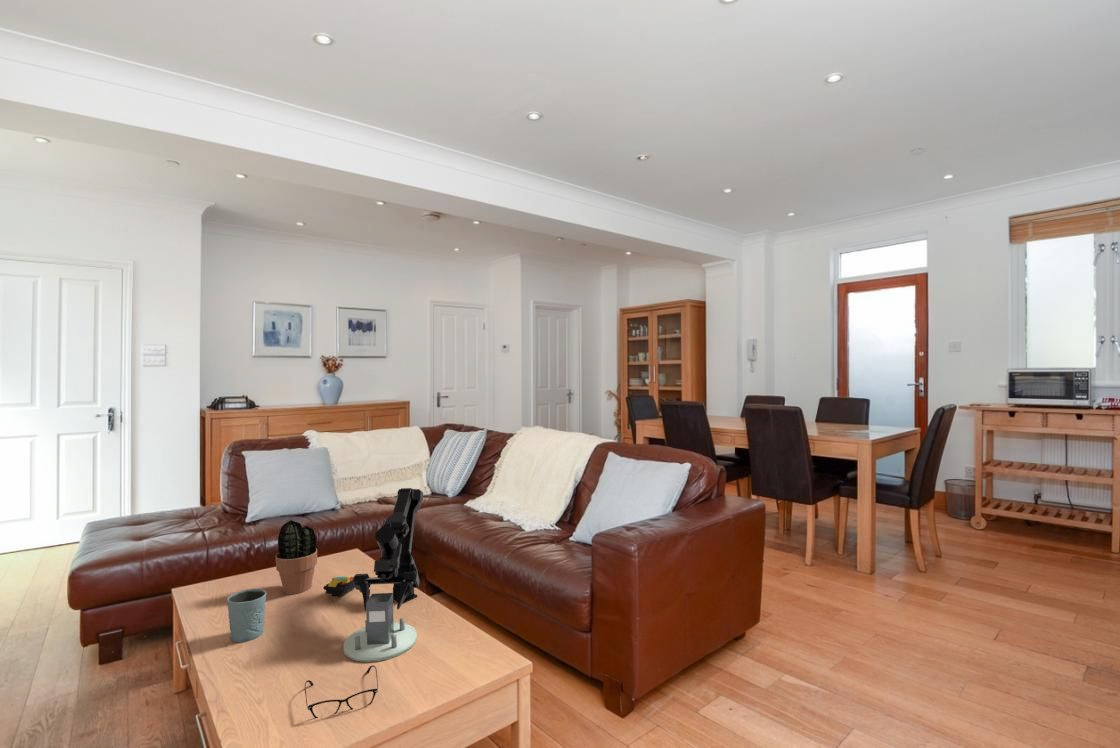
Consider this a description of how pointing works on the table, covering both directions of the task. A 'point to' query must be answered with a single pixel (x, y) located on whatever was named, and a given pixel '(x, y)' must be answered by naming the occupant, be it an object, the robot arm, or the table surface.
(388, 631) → the block
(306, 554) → the potted plant
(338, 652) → the table surface
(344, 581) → the gadget
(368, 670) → the eyeglasses
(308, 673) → the table surface
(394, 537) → the robot arm
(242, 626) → the embossed blue-grey cup
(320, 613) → the table surface
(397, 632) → the pin plate
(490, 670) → the table surface
